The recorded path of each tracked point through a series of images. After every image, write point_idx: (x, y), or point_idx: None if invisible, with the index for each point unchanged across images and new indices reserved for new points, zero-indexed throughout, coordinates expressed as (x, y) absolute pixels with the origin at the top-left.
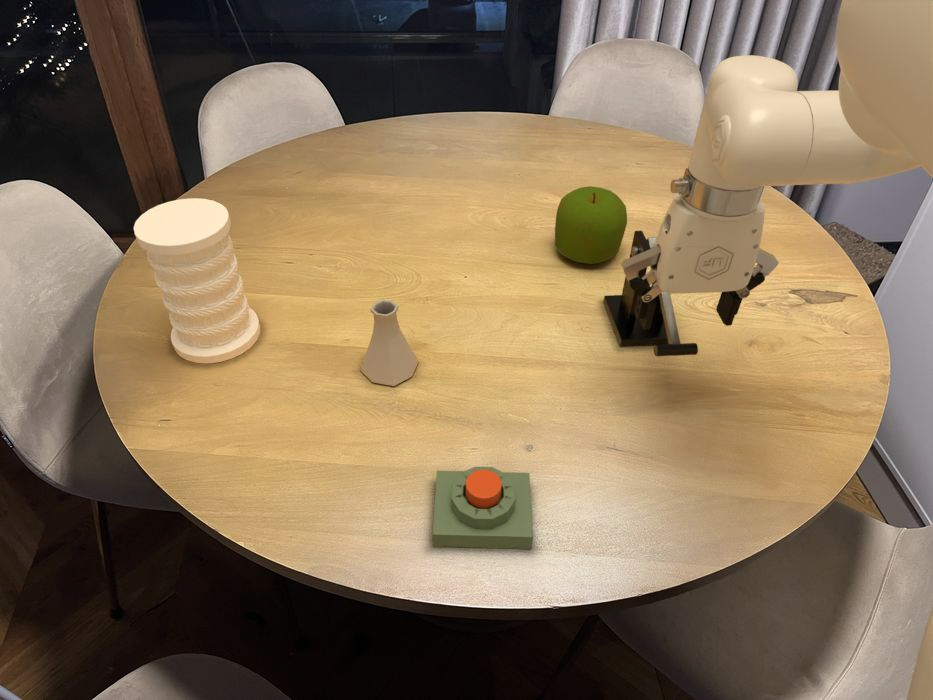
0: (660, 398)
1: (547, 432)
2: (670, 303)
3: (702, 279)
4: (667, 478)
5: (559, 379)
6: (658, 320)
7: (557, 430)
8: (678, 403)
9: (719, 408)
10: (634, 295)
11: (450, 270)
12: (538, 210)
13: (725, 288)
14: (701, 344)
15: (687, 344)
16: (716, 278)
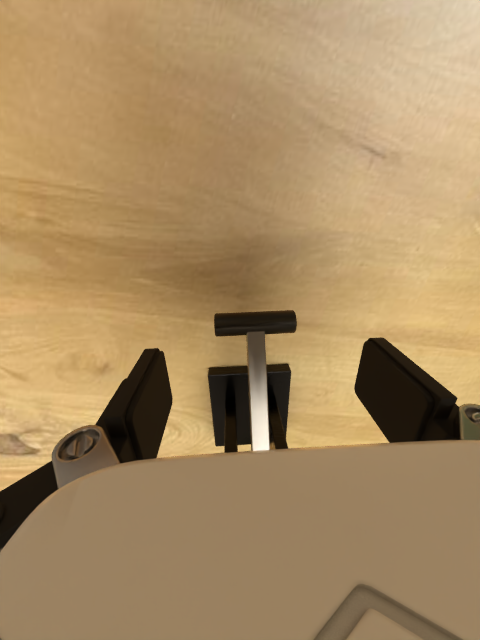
0: (263, 266)
1: (460, 198)
2: (254, 422)
3: (424, 586)
4: (311, 64)
5: (393, 307)
6: (232, 402)
7: (443, 202)
8: (238, 254)
9: (176, 241)
10: (285, 441)
11: None
12: None
13: (185, 480)
14: (175, 367)
15: (234, 330)
16: (291, 603)
